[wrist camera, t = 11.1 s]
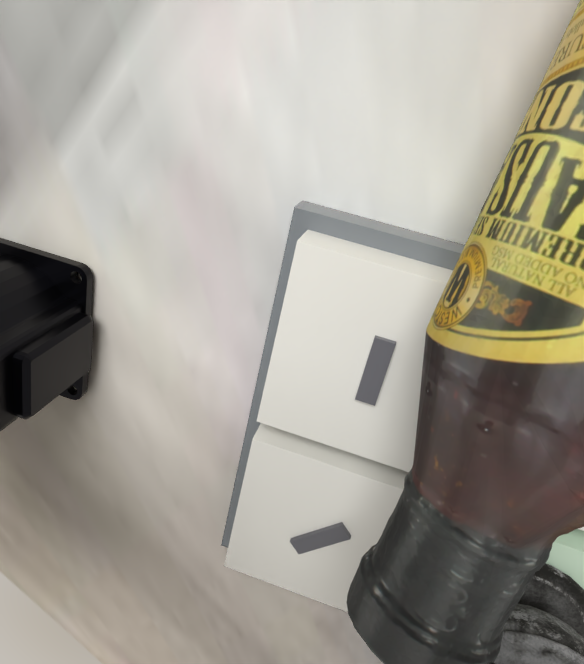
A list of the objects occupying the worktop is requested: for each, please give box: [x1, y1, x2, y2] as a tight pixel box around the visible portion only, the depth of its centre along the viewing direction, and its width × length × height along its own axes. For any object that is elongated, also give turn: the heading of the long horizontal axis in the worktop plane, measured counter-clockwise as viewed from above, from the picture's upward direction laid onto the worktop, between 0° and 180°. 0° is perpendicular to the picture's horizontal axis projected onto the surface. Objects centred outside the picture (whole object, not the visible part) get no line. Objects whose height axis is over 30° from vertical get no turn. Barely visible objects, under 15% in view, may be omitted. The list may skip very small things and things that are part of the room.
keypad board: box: [221, 201, 584, 612], centre depth 20 cm, size 16×16×3 cm
